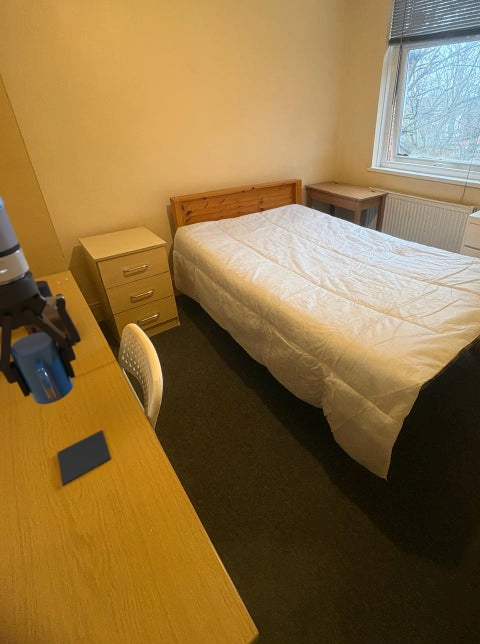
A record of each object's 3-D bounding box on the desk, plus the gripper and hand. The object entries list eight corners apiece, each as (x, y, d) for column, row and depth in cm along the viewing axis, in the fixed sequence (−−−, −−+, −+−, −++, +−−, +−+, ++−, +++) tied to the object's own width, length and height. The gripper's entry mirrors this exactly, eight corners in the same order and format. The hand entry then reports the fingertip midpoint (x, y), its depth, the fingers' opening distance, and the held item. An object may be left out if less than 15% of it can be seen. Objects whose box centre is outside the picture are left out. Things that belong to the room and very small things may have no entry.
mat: (57, 453, 72) (57, 452, 72) (102, 430, 78) (102, 429, 77) (63, 485, 66) (62, 484, 66) (111, 459, 71) (110, 458, 71)
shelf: (36, 341, 106) (22, 311, 101) (71, 329, 112) (60, 300, 106) (38, 357, 99) (24, 326, 94) (76, 344, 105) (64, 314, 100)
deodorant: (57, 323, 115) (43, 287, 108) (38, 326, 113) (22, 290, 106) (63, 314, 120) (49, 279, 113) (45, 317, 118) (30, 281, 111)
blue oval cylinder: (32, 389, 63) (8, 341, 58) (71, 374, 67) (51, 327, 61) (36, 418, 57) (9, 368, 52) (77, 400, 61) (57, 351, 55)
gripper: (-93, 308, 43) (-18, 423, 53) (76, 268, 54) (110, 370, 65) (-83, 286, 48) (-17, 395, 59) (69, 254, 59) (102, 350, 70)
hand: (50, 382), depth 62 cm, fingers closed on blue oval cylinder, 6 cm apart
